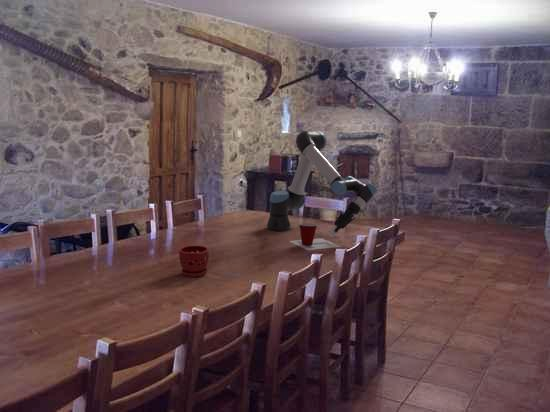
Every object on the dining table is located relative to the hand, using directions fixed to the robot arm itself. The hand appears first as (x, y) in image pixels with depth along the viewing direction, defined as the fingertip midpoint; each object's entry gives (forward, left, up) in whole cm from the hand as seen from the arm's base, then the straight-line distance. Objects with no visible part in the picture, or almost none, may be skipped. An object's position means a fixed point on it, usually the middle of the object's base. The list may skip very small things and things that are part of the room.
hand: (330, 235), depth 328 cm
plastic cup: (0, -15, -4) cm, 15 cm away
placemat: (0, -10, -4) cm, 11 cm away
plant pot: (+33, -92, -4) cm, 98 cm away
